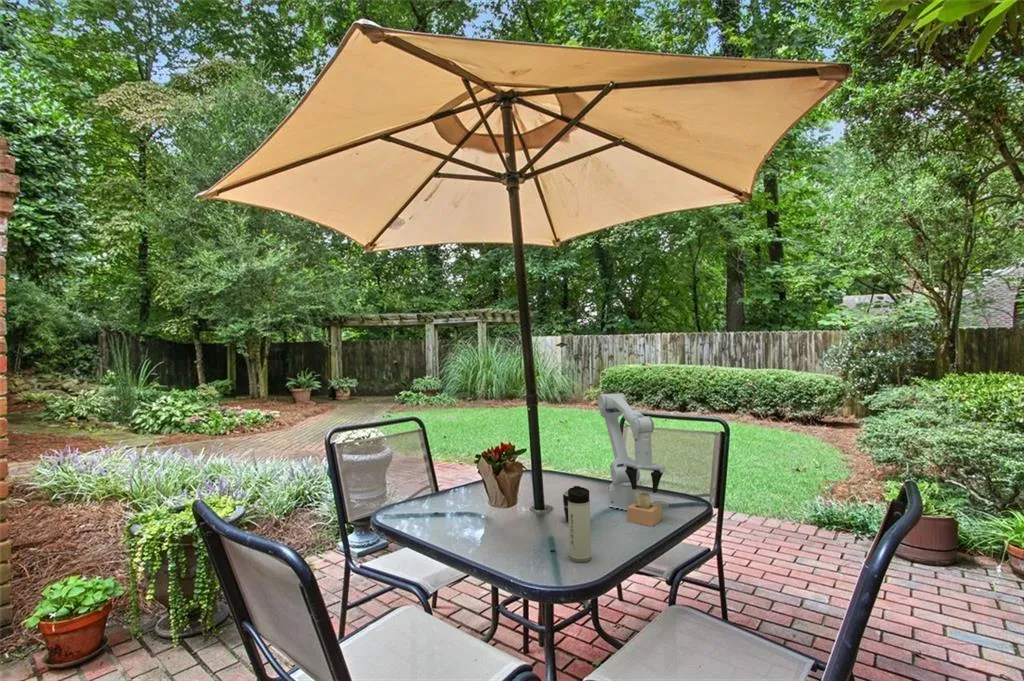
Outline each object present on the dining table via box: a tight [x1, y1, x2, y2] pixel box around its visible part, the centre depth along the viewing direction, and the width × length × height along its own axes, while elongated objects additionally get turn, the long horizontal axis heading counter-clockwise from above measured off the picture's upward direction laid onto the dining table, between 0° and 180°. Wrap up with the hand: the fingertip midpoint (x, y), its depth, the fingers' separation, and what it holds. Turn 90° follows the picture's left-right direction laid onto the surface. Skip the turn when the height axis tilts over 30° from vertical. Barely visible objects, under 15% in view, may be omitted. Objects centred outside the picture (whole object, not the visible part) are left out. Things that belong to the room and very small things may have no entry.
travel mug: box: [567, 485, 592, 564], centre depth 142 cm, size 6×7×20 cm
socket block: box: [626, 500, 663, 528], centre depth 171 cm, size 9×9×5 cm
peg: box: [637, 492, 651, 509], centre depth 172 cm, size 4×4×8 cm
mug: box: [562, 489, 569, 524], centre depth 170 cm, size 12×9×10 cm
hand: (644, 490), depth 172 cm, fingers open, 7 cm apart
